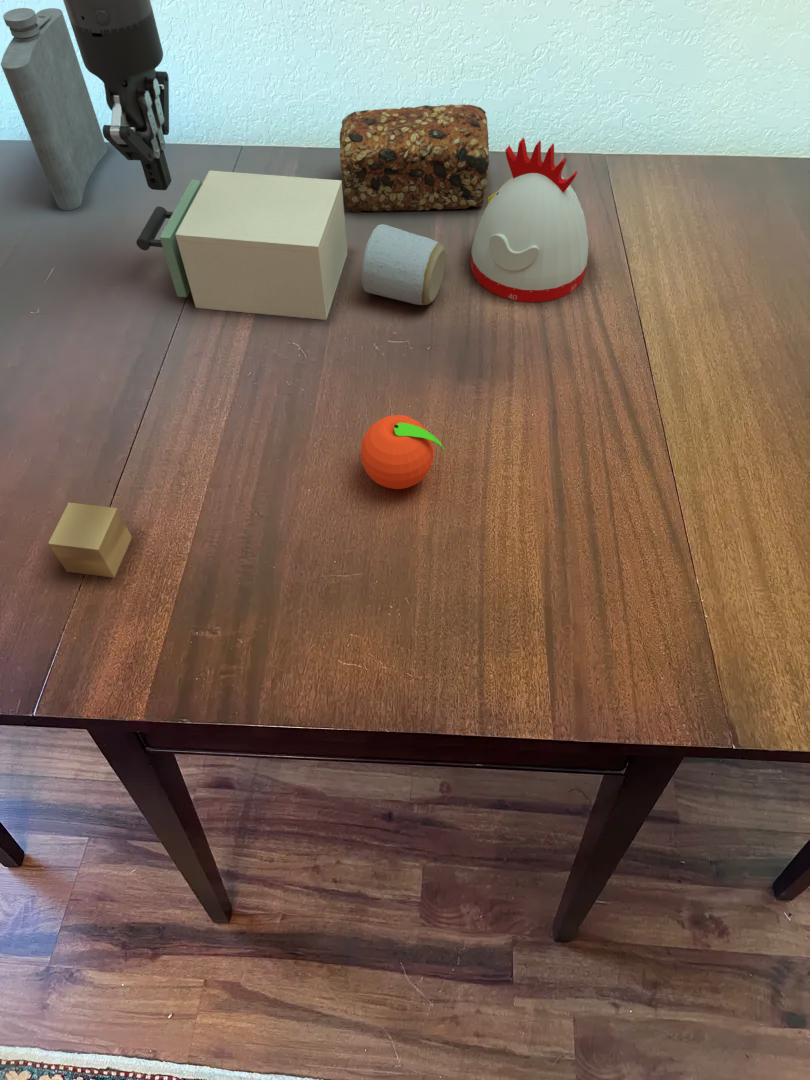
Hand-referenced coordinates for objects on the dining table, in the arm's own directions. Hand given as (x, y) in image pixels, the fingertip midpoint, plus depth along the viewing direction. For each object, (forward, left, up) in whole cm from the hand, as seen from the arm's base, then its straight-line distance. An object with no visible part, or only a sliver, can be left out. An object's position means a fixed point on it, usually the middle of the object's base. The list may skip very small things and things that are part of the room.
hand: (160, 186), depth 86 cm
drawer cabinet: (+11, 0, -11) cm, 16 cm away
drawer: (+6, 0, -10) cm, 12 cm away
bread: (+25, +21, -11) cm, 35 cm away
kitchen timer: (+41, +7, -11) cm, 43 cm away
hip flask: (-21, +18, -11) cm, 30 cm away
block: (+5, -41, -11) cm, 43 cm away
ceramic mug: (+27, +1, -11) cm, 29 cm away
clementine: (+31, -28, -11) cm, 43 cm away
